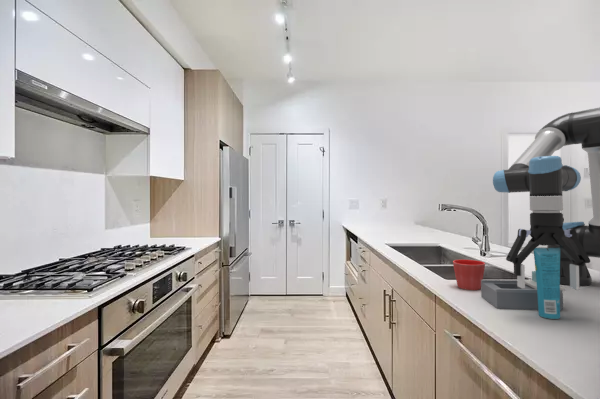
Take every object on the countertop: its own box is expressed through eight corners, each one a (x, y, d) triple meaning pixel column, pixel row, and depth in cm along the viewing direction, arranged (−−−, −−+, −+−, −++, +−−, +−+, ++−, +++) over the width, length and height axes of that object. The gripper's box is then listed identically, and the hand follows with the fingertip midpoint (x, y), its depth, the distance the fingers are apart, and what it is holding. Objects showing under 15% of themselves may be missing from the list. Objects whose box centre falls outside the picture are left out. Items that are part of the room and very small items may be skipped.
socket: (539, 297, 113) (538, 280, 113) (563, 310, 100) (562, 290, 100) (481, 296, 116) (480, 279, 116) (497, 308, 103) (496, 289, 103)
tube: (554, 313, 98) (552, 246, 98) (568, 318, 93) (567, 248, 93) (529, 314, 97) (528, 247, 98) (543, 320, 93) (541, 249, 93)
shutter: (547, 283, 111) (546, 271, 111) (565, 290, 102) (565, 278, 102) (522, 282, 113) (522, 271, 113) (538, 290, 103) (538, 277, 103)
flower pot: (491, 291, 122) (491, 264, 123) (461, 291, 123) (460, 264, 123) (477, 284, 133) (476, 259, 133) (448, 284, 133) (448, 259, 133)
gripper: (586, 211, 98) (588, 285, 97) (492, 211, 101) (494, 283, 101) (605, 211, 90) (607, 292, 90) (503, 212, 94) (505, 290, 94)
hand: (547, 288), depth 96 cm, fingers open, 13 cm apart
